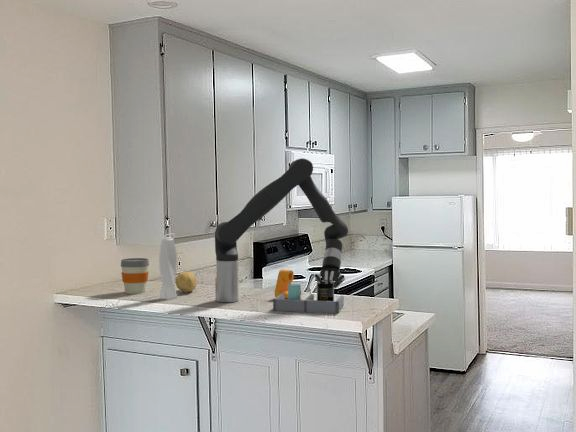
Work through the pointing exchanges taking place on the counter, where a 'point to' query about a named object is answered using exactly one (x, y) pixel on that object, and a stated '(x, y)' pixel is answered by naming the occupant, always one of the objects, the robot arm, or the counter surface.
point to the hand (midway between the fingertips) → (327, 294)
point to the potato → (186, 281)
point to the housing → (305, 302)
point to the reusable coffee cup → (134, 275)
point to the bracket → (283, 282)
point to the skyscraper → (168, 267)
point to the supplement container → (325, 291)
